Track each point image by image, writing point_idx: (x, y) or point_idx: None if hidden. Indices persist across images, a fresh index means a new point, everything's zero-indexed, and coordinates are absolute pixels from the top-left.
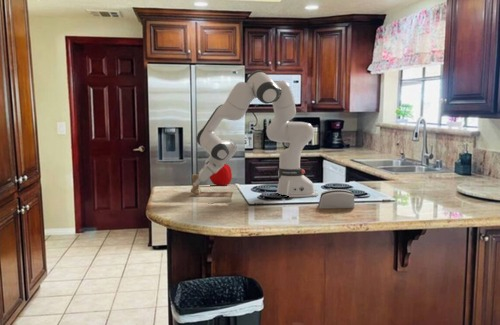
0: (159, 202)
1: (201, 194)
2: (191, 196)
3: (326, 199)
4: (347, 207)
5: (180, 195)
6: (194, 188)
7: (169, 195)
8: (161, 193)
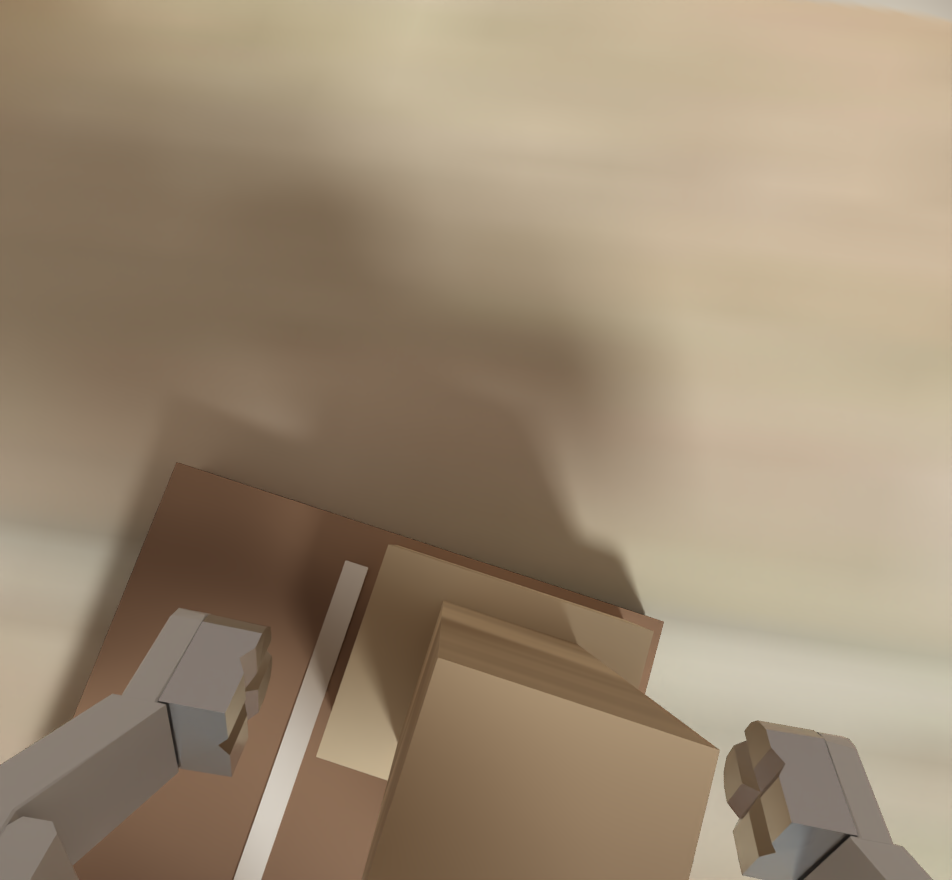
0: (184, 3)
1: (324, 772)
2: (199, 530)
3: None
4: None
5: (623, 381)
6: (426, 649)
7: (674, 202)
8: (872, 98)
